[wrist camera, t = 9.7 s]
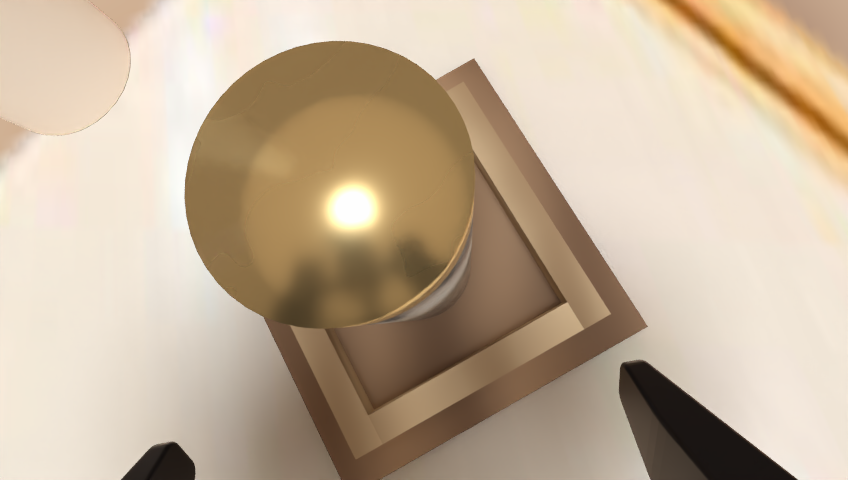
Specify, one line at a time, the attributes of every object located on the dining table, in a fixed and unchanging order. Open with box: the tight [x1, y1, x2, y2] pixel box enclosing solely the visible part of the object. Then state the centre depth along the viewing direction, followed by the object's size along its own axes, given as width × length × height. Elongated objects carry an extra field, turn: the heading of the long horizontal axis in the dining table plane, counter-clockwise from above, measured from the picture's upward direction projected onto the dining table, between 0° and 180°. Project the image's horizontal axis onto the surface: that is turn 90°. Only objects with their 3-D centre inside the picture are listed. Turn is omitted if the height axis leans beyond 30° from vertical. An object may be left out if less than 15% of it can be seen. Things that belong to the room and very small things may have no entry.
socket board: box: [264, 59, 648, 480], centre depth 20 cm, size 14×14×2 cm
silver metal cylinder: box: [185, 41, 475, 329], centre depth 14 cm, size 5×5×13 cm
